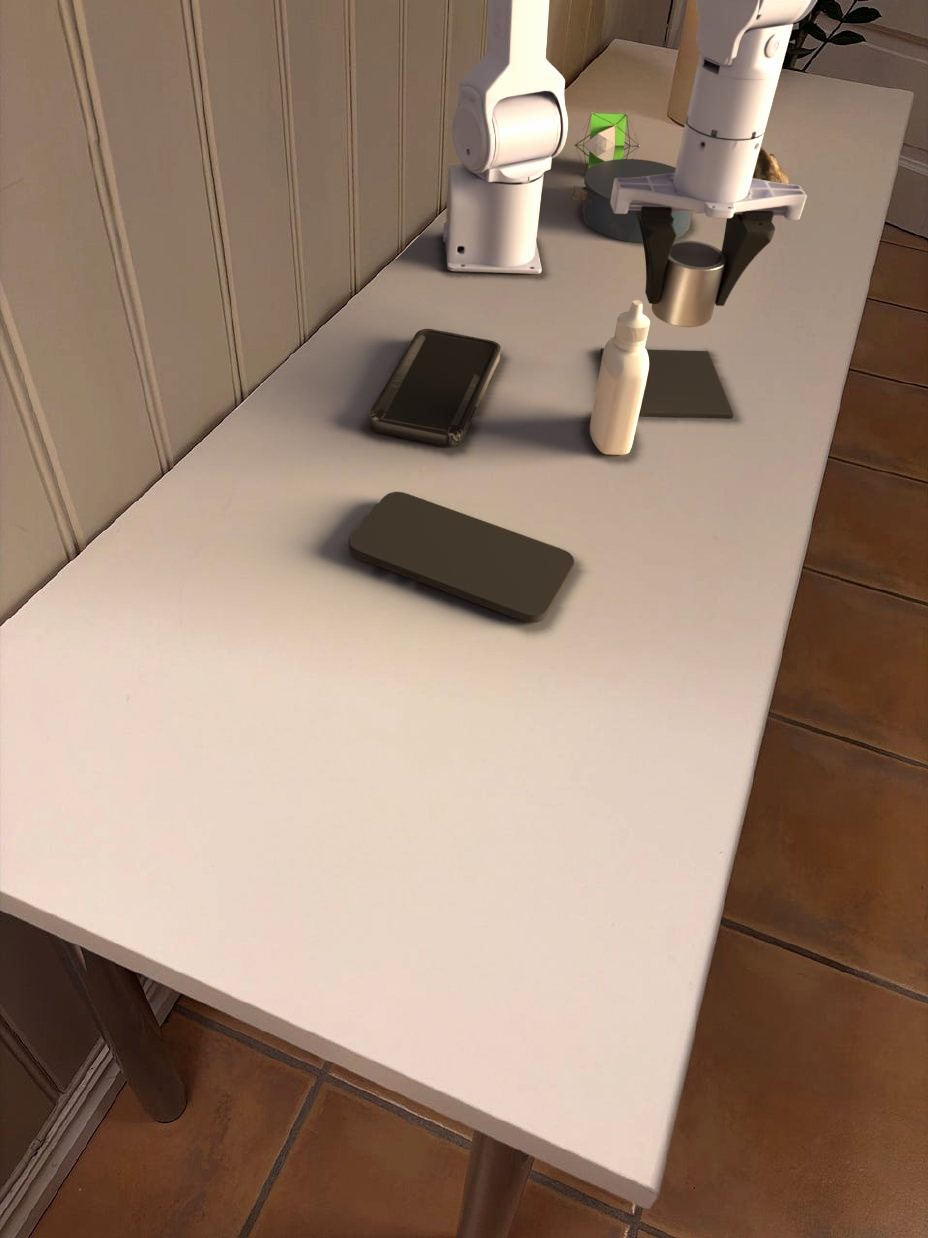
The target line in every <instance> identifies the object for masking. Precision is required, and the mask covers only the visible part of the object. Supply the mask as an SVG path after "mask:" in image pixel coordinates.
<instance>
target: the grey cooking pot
mask: <svg viewBox="0 0 928 1238" xmlns="http://www.w3.org/2000/svg"><path fill="white" fill-rule="evenodd" d="M675 169H676V166H672V165H669V164H667V163H662V162H657V161H653V160H647V159H639V158H637V159H636V158H627V159H626V158H623V159H617V160H609V161H605V162H601V163H598V164H596V165H594V166H592V167H590V168H589V169H588V168H587V169H586V171H585V174H584V177H583V178H584V179H583V183H584V186H576V185H575V186H573V193H572V196H573V199H574V200H583V204H582V210H581V216H582V218H583V221H584V222H585V223H586V224H587V225H588V226H589V228H591V229H593V230H595V231H596V232H597V233H600V234H603V235H604V236H607V237H610V238H612V239H616V240H620V241H624V242H630V243H638V244H643V239H642V234H641V229H640V225H639V221H638V217H637V213H636V210H628V213H626V214H615V213H614V212H613V209H612V206H611V203H610V201H611V195H612V189H613V183H614V178H633V177H643V176H651V175H659V174H667V173H675ZM671 215H672V218H674V220H673V228H674V230H675V232H676V238H675V240H678V239H679V238H681V237H682V236H684V235H685V234H686V233H688V230H689V228H690V225H691V220H692V217H693V213H691V212H672V213H671Z"/></svg>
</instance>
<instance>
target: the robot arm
mask: <svg viewBox="0 0 928 1238" xmlns="http://www.w3.org/2000/svg"><path fill="white" fill-rule="evenodd" d="M487 2H488V3H487V34H486V35H487V37H486V53H485V54H484V55H483V56H482V57H481V59H480V60H479V61H478V62H477V63H476V64H475V65H474V66H473V67H472V68H470V70H469V71H468V72H466V74H465V75H463V77H462V78H461V79H460V80H459V82H458V83H459V84H458V87H459V93H458V95H459V96H458V102H457V106H456V110H455V113H454V116H453V120H452V141H453V146H454V150H455V152H456V155H457V157H458V159H459V160H460V162H461V164H451V165H449V166H448V174H447V175H448V176H447V193H446V195H447V196H446V216H445V217H446V218H445V222H444V223H443V230H442V231H443V232H442V235H443V236H442V241H443V243H445V252H446V253H445V254H446V266H447V267H446V269H447V270H448V271H450V272H461V273H462V272H463V273H465V272H466V273H493V274H494V273H497V274H498V273H499V274H500V273H501V274H525V275H526V274H527V275H528V274H529V275H534V274H535V275H538V274H539V275H540V274H541V273H542V264H541V260H540V255H539V250H538V245H537V236H538V227H539V217H540V211H541V210H540V209H541V201H542V191H543V183H544V174H545V172H546V171H550V170H551V168H552V160H553V158H556V157H557V156H558V155H560V154H561V152H562V151H563V149H564V147H565V145H566V142H567V136H568V132H569V131H568V130H569V118H568V112H567V109H566V102H565V88H566V87H565V85H566V80H565V78H564V76H563V75H562V74H561V73H560V72H559V70H557V69H556V67H555V66H554V65H553V64H551V63H550V61H549V60H548V59H547V58H546V56H547V41H548V29H549V28H548V27H549V25H548V24H549V12H550V0H488V1H487ZM817 2H818V0H694V3H695V7H696V12H697V17H698V25H697V32H696V37H695V44H696V45H697V46H696V52H697V54H698V59H697V63H696V64H697V65H696V68H695V74H694V79H693V83H692V89H691V93H690V98H689V103H688V108H687V112H686V117H685V121H684V126H683V131H682V134H681V135H682V136H681V139H680V140H681V141H680V145H679V150H678V155H677V160H676V165H675V168H676V169H675V173H667V174H659V175H651V176H643V177H633V178H614V183H613V189H612V195H611V201H610V203H611V206H612V209H613V212H614V213H615V214H626V213H628V210H636V213H637V217H638V221H639V225H640V229H641V234H642V239H643V243H642V245H643V251H644V261H645V291H644V293H645V296H646V299H647V301H648V304H651V305H652V304H658V302H659V299H660V295H661V290H662V284H663V278H664V272H665V267H666V264H667V261H668V257H669V254H670V251H671V248H672V245H673V243H674V242H675V240H676V239H675V238H676V232H675V230H674V228H673V220H674V218H672V215H671V213H672V212H691V213H692V214H693V213H694V214H695V213H696V214H704V215H705V216H706V217H707V218H711V219H726V222H725V228H724V234H723V240H722V246H721V251H722V252H723V253H724V255H725V256H726V264H725V267H724V271H723V275H722V279H721V283H720V286H719V290H718V294H717V298H716V302H715V306H717V307H725V304H726V303H727V300H728V298H729V296H730V294H732V292H733V289H734V288H735V286H736V285H737V283H738V281H739V279H740V278H741V276H742V275H743V274H744V272H745V271H746V269H747V268H748V267H749V265H751V262H753V260H754V259H755V258H756V257H757V255H758V254H760V253H761V252H762V250H763V249H764V248H765V247H766V246H768V245H769V244H770V243H771V241H772V240H773V237H774V234H775V231H776V227H775V225H774V223H773V218H774V216H777V217H779V216H780V217H784V218H785V219H786V220H789V221H799V220H801V217H802V213H803V210H804V207H805V203H806V201H807V197H808V195H807V194H806V192H805V191H804V189H803V188H802V186H801V185H800V184H793V183H791V184H790V183H789V184H783V183H776V182H770V181H765V180H759V179H754V178H752V177H753V173H754V169H755V166H756V162H757V158H758V154H759V150H760V147H762V143H763V139H764V136H765V132H766V128H767V124H768V121H769V116H770V113H771V110H772V105H773V101H774V97H775V94H776V90H777V87H778V82H779V79H780V75H781V71H782V68H783V63H784V60H785V58H786V57H785V56H786V52H787V49H788V45H789V41H790V38H791V35H792V31H793V27H794V23H797V22H799V21H801V20H803V19H804V18H805V17H806V16H807V15H809V13H810V12H811V11H813V8H814V7H815V5H816V3H817Z"/></svg>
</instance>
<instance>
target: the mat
mask: <svg viewBox="0 0 928 1238" xmlns="http://www.w3.org/2000/svg"><path fill="white" fill-rule="evenodd" d="M604 348H605V347H601V348H600V356H601V357H602V356H603V352H604ZM646 351H647V353H648V358H649V370H648V375H647V380H646V385H645V389H644V394H643V398H642V403H641V407H640V412H639V416H638V417H660V418H661V417H666V418H668V417H669V418H708V419H709V418H712V419H714V418H716V419H733V417H734V411H733V409H732V407H731V405H730V401H729V399H728V397H727V395H726V392H725V390H724V388H723V385H722V382H721V379H720V376H719V375H718V372H717V370H716V367H715V366H714V365H715V364H714V362H713V360H712V358H711V355H710V353H709V350H679V349H646Z"/></svg>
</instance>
